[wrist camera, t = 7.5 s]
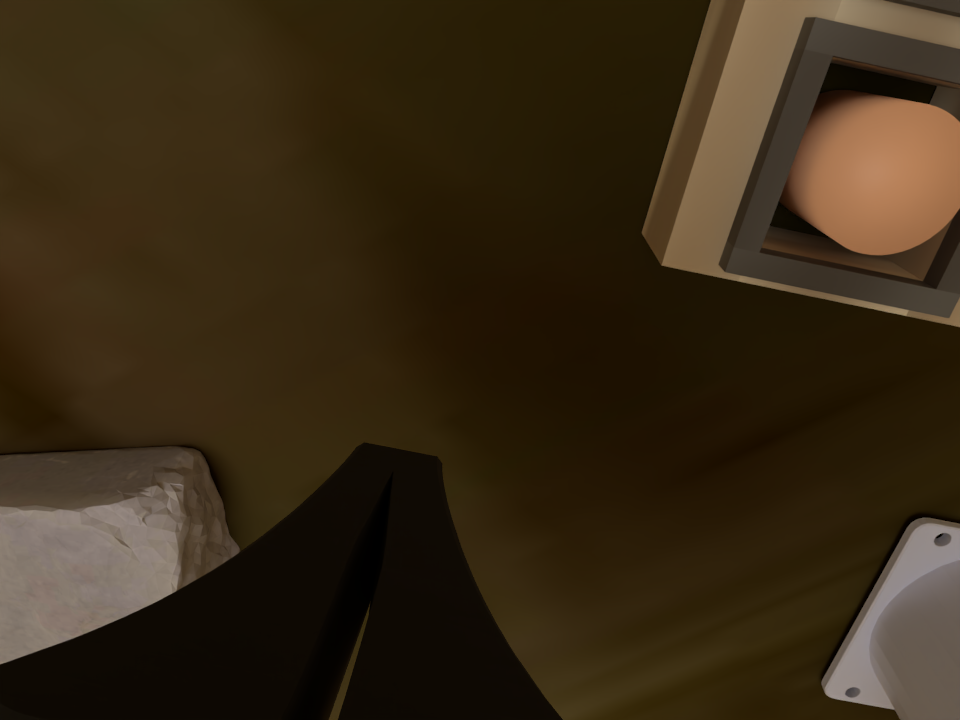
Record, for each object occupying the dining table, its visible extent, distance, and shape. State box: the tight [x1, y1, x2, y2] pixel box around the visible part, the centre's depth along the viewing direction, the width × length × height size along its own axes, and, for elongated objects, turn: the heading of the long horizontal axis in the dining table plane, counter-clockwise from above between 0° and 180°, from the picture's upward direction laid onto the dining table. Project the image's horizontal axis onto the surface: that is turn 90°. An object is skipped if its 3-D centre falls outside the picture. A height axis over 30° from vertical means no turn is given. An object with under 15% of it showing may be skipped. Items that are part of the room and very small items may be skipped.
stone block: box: [0, 446, 240, 664], centre depth 25 cm, size 12×5×10 cm
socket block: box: [642, 0, 960, 327], centre depth 16 cm, size 8×12×4 cm, turn 169°
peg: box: [779, 90, 960, 255], centre depth 17 cm, size 3×3×3 cm
